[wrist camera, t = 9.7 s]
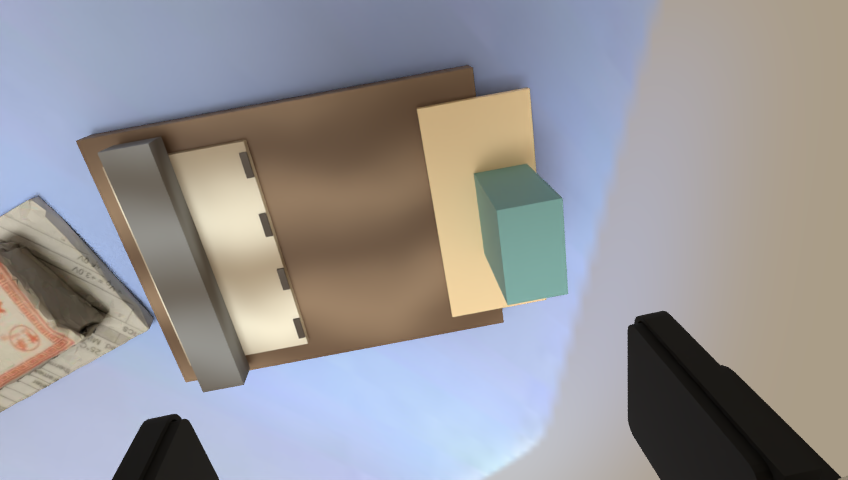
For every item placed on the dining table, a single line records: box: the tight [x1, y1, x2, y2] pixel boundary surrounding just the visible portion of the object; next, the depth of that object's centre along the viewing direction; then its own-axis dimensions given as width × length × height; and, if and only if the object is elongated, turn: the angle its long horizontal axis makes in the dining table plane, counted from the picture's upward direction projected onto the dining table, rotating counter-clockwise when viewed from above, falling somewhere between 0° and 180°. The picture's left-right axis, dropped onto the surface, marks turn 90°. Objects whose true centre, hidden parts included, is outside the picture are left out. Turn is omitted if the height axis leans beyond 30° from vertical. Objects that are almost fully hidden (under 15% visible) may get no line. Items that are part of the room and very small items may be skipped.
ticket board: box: [76, 65, 504, 392], centre depth 29 cm, size 16×21×4 cm
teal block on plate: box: [417, 88, 568, 317], centre depth 26 cm, size 13×6×6 cm, turn 9°
